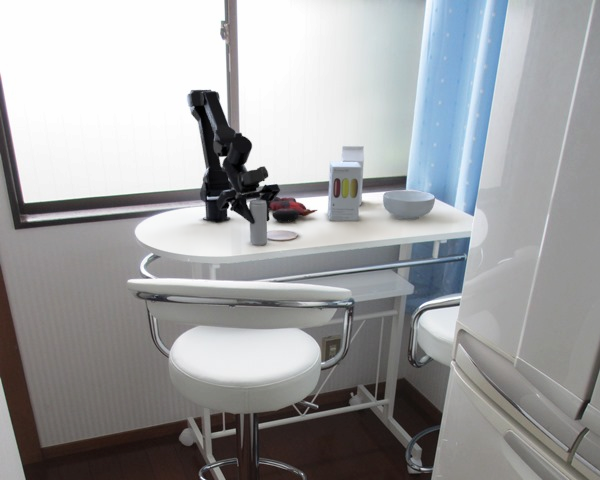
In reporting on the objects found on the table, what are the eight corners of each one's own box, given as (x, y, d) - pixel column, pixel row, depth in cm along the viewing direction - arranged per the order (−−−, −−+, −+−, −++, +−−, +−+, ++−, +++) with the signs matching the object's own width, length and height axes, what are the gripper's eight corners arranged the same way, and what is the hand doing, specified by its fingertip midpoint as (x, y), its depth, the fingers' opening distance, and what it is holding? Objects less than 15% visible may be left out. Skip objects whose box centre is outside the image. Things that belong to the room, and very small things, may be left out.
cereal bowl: (441, 221, 220) (443, 199, 216) (392, 225, 216) (394, 202, 212) (420, 209, 234) (422, 188, 230) (374, 212, 230) (375, 190, 227)
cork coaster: (256, 236, 203) (256, 235, 203) (278, 229, 210) (278, 228, 210) (283, 243, 198) (283, 241, 197) (304, 235, 205) (304, 234, 204)
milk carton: (361, 205, 238) (364, 148, 228) (340, 205, 238) (342, 148, 229) (360, 201, 244) (362, 144, 235) (340, 200, 244) (342, 144, 235)
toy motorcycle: (278, 228, 216) (325, 216, 219) (275, 212, 213) (323, 200, 216) (257, 211, 237) (300, 201, 240) (254, 196, 234) (298, 186, 237)
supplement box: (329, 221, 219) (331, 166, 211) (327, 213, 227) (328, 161, 219) (359, 221, 220) (362, 166, 212) (355, 213, 228) (358, 161, 220)
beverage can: (250, 241, 199) (249, 199, 193) (266, 241, 199) (266, 199, 193) (250, 246, 194) (249, 203, 189) (267, 246, 195) (266, 203, 189)
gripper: (219, 160, 183) (243, 210, 181) (276, 153, 193) (299, 200, 191) (206, 185, 192) (229, 233, 190) (260, 177, 202) (283, 222, 200)
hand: (261, 221), depth 193 cm, fingers closed on beverage can, 5 cm apart
